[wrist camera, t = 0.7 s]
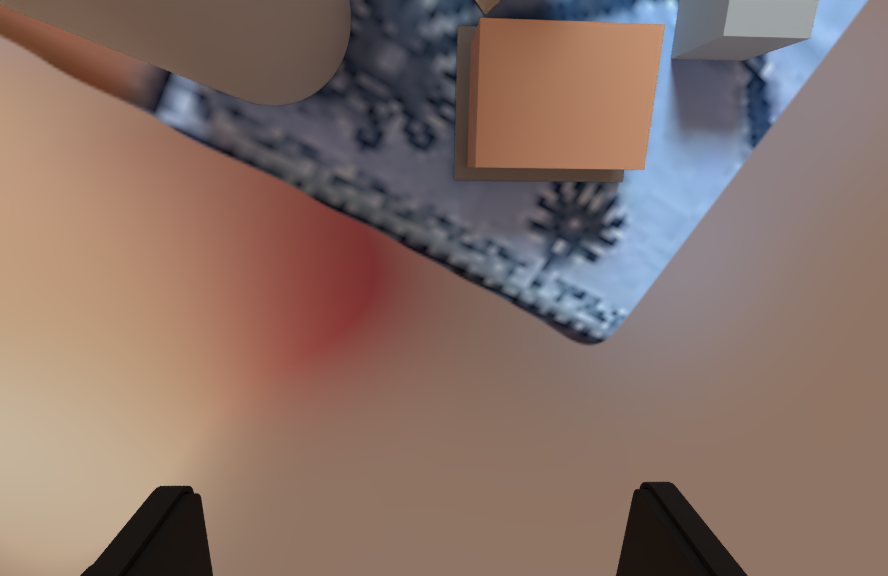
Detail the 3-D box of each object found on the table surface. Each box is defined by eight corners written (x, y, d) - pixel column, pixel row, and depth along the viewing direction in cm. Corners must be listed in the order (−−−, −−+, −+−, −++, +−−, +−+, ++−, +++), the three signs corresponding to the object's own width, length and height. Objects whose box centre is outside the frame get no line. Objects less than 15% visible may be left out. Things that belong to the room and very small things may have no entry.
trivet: (456, 29, 31) (457, 25, 30) (636, 35, 32) (642, 32, 31) (453, 179, 34) (454, 180, 33) (617, 182, 35) (622, 182, 34)
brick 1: (467, 167, 33) (475, 167, 28) (470, 41, 31) (480, 17, 26) (612, 169, 34) (644, 169, 29) (627, 46, 31) (665, 24, 26)
